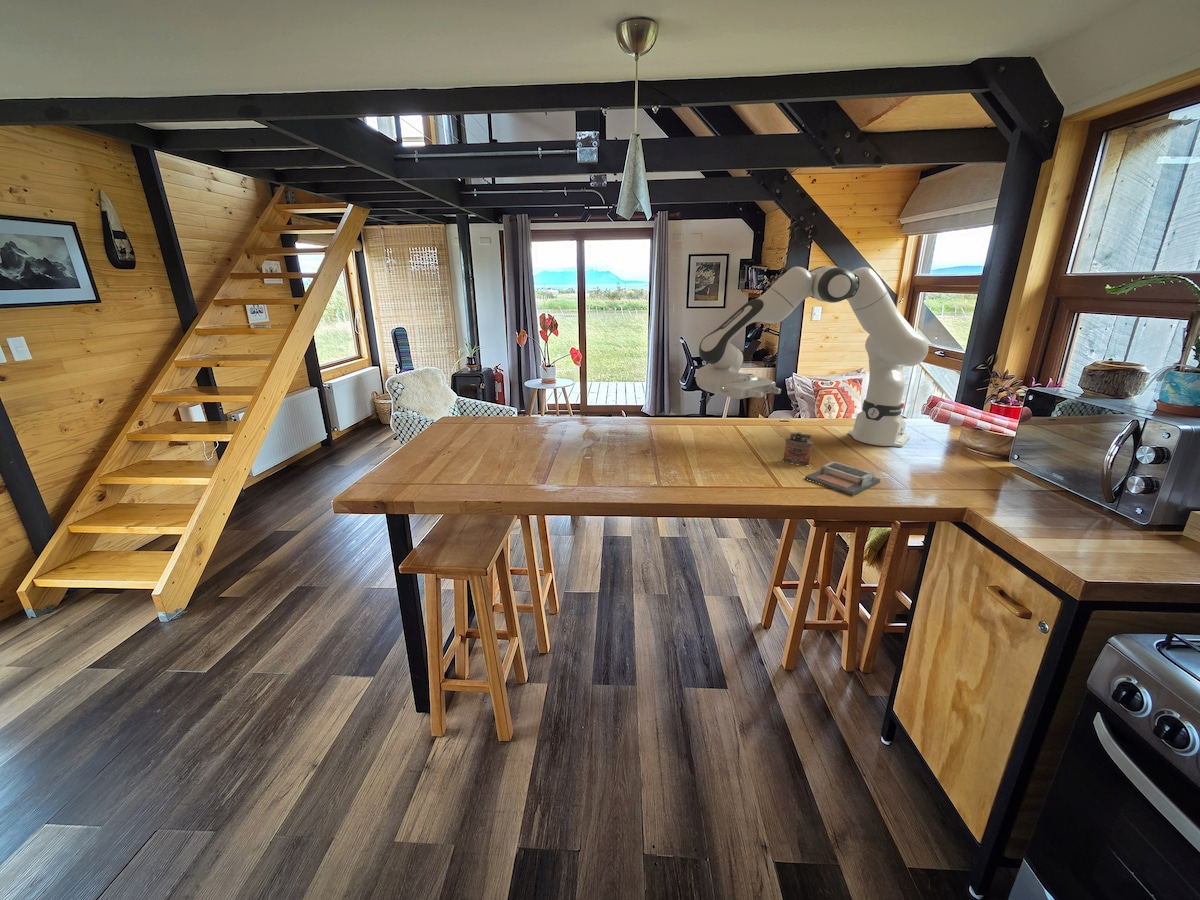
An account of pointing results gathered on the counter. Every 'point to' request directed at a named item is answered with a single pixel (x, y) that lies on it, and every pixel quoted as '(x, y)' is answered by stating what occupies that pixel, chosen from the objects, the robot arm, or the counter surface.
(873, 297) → the robot arm
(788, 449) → the lighter
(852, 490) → the plate
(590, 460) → the counter surface
